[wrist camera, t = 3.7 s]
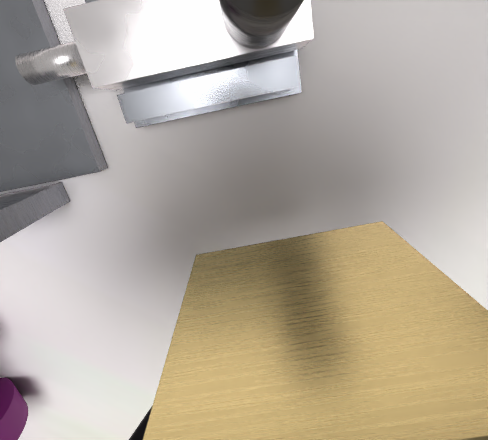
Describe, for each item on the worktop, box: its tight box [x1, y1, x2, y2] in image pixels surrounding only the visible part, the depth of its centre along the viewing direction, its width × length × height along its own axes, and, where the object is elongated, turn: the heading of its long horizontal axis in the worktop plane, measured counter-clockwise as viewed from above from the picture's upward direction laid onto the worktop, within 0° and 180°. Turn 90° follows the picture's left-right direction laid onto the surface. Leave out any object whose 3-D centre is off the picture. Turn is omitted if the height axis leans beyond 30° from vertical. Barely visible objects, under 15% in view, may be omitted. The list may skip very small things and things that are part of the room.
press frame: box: [0, 0, 302, 242], centre depth 12 cm, size 24×12×6 cm, turn 101°
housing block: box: [143, 221, 488, 440], centre depth 6 cm, size 5×5×5 cm
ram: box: [15, 0, 314, 90], centre depth 10 cm, size 12×3×7 cm, turn 101°
